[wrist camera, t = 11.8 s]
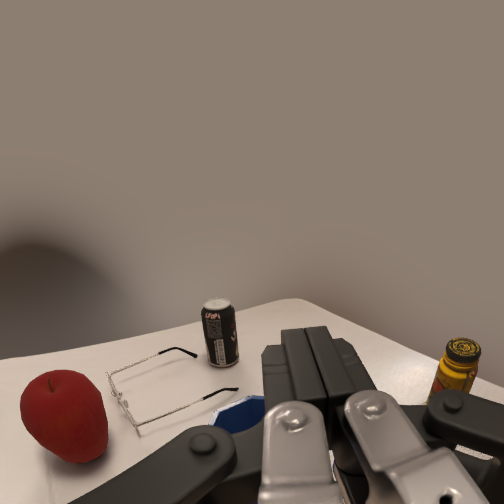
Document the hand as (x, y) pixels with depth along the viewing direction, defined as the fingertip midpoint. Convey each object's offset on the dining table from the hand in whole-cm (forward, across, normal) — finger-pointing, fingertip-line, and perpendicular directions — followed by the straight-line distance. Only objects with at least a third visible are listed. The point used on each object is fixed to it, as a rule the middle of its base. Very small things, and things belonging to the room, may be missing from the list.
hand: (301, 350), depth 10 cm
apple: (+13, +26, +27) cm, 40 cm away
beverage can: (+38, +8, +27) cm, 47 cm away
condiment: (+16, -25, +27) cm, 41 cm away
